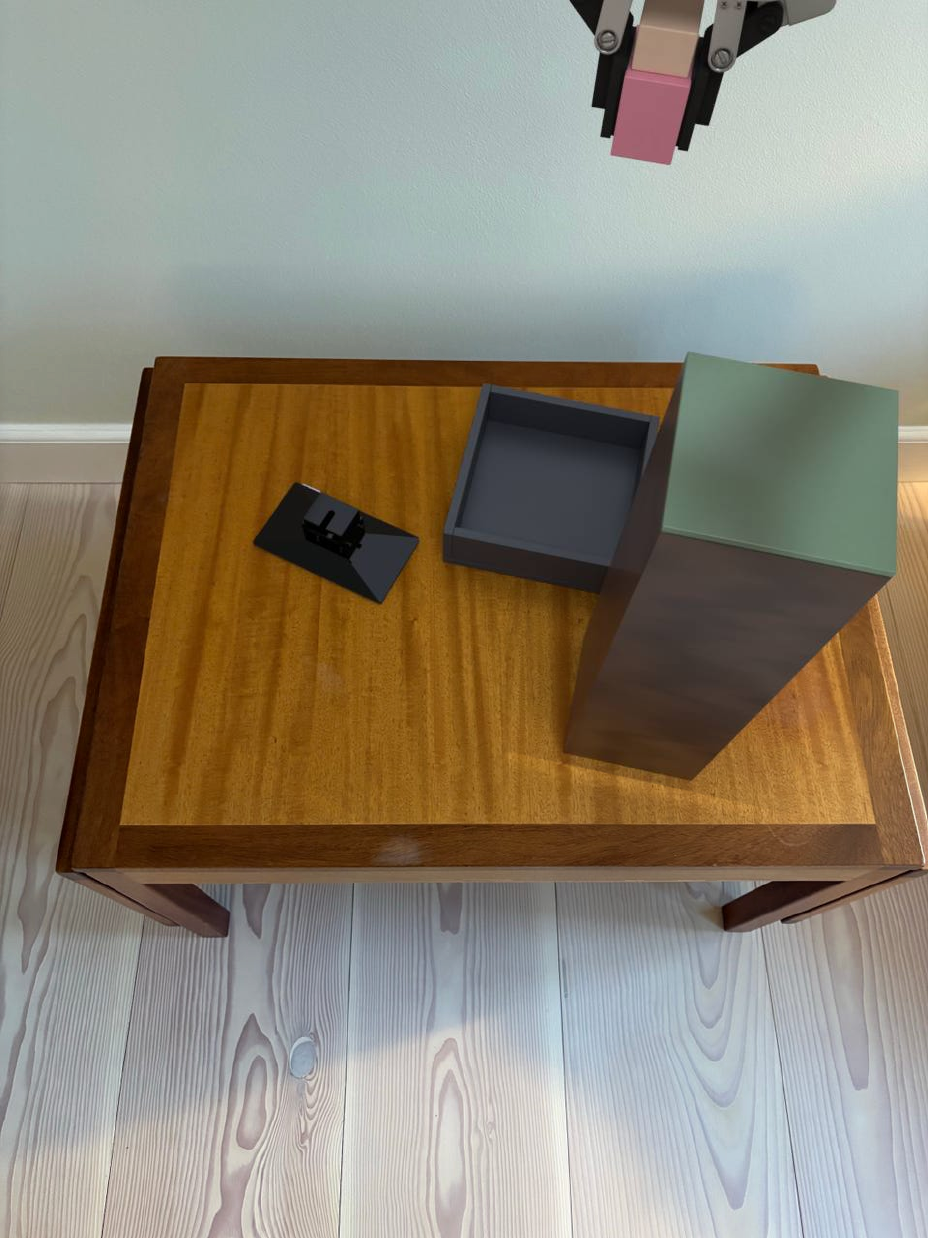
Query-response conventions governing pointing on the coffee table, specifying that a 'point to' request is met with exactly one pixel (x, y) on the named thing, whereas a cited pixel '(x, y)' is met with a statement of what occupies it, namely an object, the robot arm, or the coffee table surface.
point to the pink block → (657, 80)
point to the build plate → (337, 542)
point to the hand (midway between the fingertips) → (648, 122)
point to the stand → (735, 559)
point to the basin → (546, 487)
